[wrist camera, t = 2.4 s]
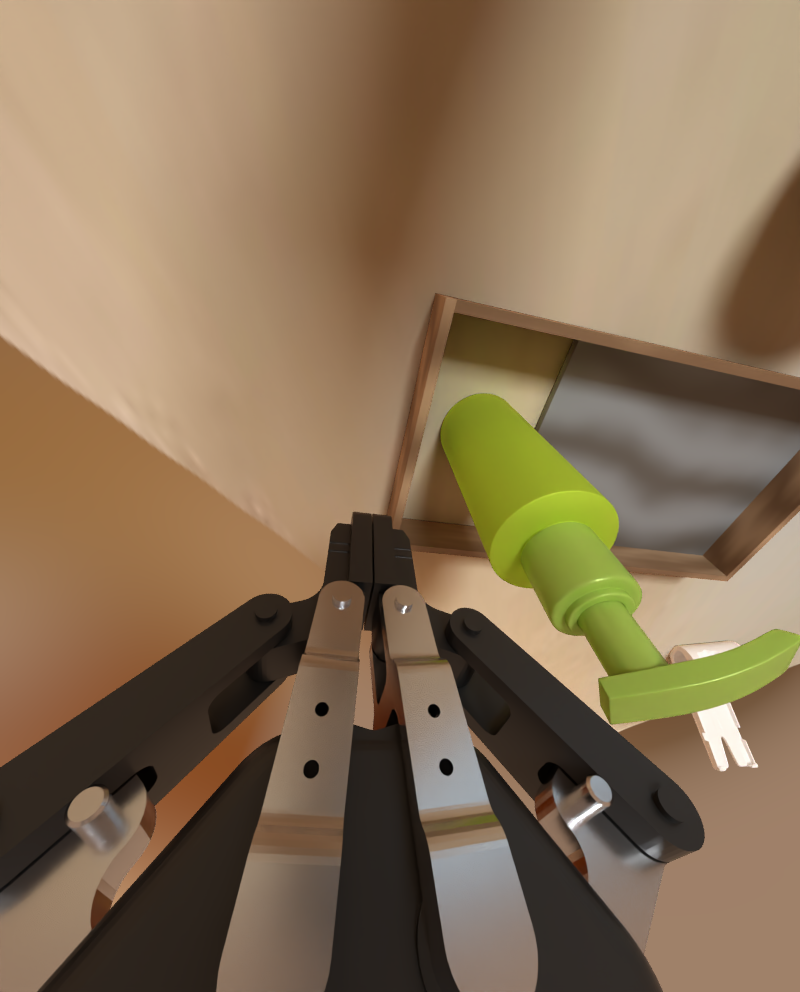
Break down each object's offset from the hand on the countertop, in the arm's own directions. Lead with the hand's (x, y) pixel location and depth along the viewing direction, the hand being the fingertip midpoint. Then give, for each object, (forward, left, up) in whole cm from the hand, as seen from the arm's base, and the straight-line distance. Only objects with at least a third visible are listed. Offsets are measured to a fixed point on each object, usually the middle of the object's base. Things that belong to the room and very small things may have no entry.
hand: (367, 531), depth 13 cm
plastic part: (+28, +50, -14) cm, 59 cm away
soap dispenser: (0, +9, -14) cm, 17 cm away
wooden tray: (+1, +20, -14) cm, 24 cm away
